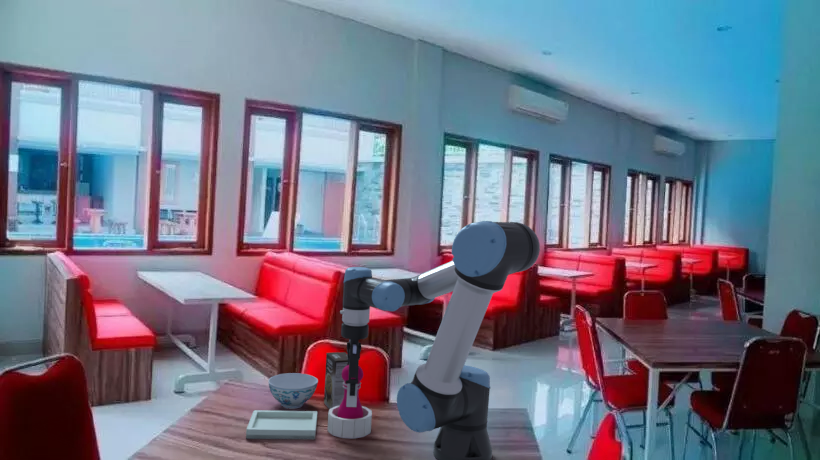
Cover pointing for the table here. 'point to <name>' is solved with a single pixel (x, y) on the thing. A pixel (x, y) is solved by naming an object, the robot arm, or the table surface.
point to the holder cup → (349, 424)
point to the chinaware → (292, 389)
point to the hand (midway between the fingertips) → (350, 397)
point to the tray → (282, 425)
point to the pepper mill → (343, 410)
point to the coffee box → (334, 378)
